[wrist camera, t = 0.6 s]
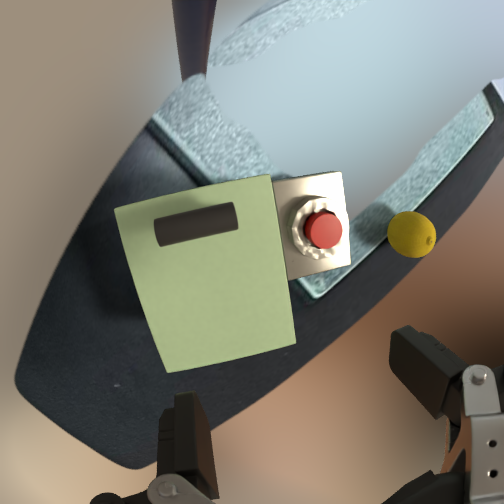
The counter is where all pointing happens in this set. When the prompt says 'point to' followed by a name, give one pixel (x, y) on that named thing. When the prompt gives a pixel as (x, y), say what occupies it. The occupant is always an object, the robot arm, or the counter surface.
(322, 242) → the button
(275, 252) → the lid
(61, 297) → the counter surface
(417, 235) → the lemon
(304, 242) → the switch block
